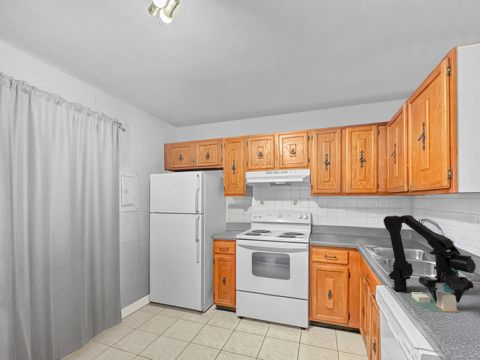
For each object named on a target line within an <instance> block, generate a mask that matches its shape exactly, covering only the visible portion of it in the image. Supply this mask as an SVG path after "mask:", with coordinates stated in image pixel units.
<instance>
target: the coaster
mask: <svg viewBox="0 0 480 360" xmlns="http://www.w3.org/2000/svg"><path fill="white" fill-rule="evenodd" d="M435 305H436V306H437V307H438V308H440V309H441V310H443V309H442V308H441V307H439V306H438V304H435ZM443 311H444V312H443V313H447V312H460V310H458V309H457V310H443ZM460 313H461V312H460Z"/></svg>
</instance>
